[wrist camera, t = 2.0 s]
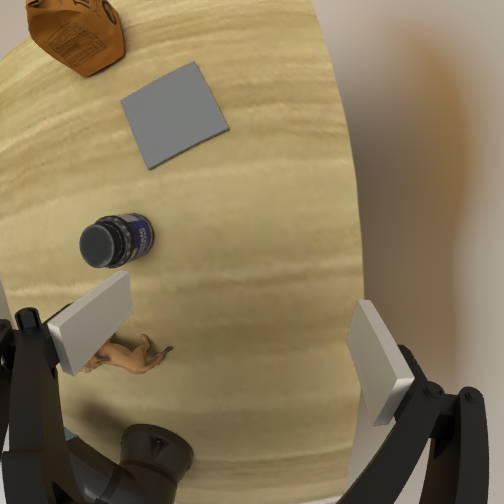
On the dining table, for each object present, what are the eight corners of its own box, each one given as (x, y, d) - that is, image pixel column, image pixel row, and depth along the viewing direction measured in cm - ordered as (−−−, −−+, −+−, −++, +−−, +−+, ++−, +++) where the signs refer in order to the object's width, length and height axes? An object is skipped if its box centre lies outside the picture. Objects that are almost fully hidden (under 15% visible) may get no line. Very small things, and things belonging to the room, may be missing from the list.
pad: (150, 170, 35) (147, 169, 34) (123, 102, 33) (120, 100, 32) (229, 129, 34) (228, 127, 33) (195, 64, 32) (194, 60, 31)
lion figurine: (97, 353, 40) (72, 380, 31) (90, 325, 39) (61, 349, 30) (176, 359, 40) (160, 393, 31) (170, 329, 39) (152, 360, 30)
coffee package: (129, 12, 30) (76, -61, 8) (130, 61, 32) (58, -16, 10) (81, 34, 30) (15, -21, 9) (78, 84, 32) (-8, 35, 11)
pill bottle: (150, 261, 37) (116, 282, 26) (113, 250, 37) (71, 267, 26) (158, 217, 36) (124, 224, 25) (120, 208, 36) (77, 212, 25)
